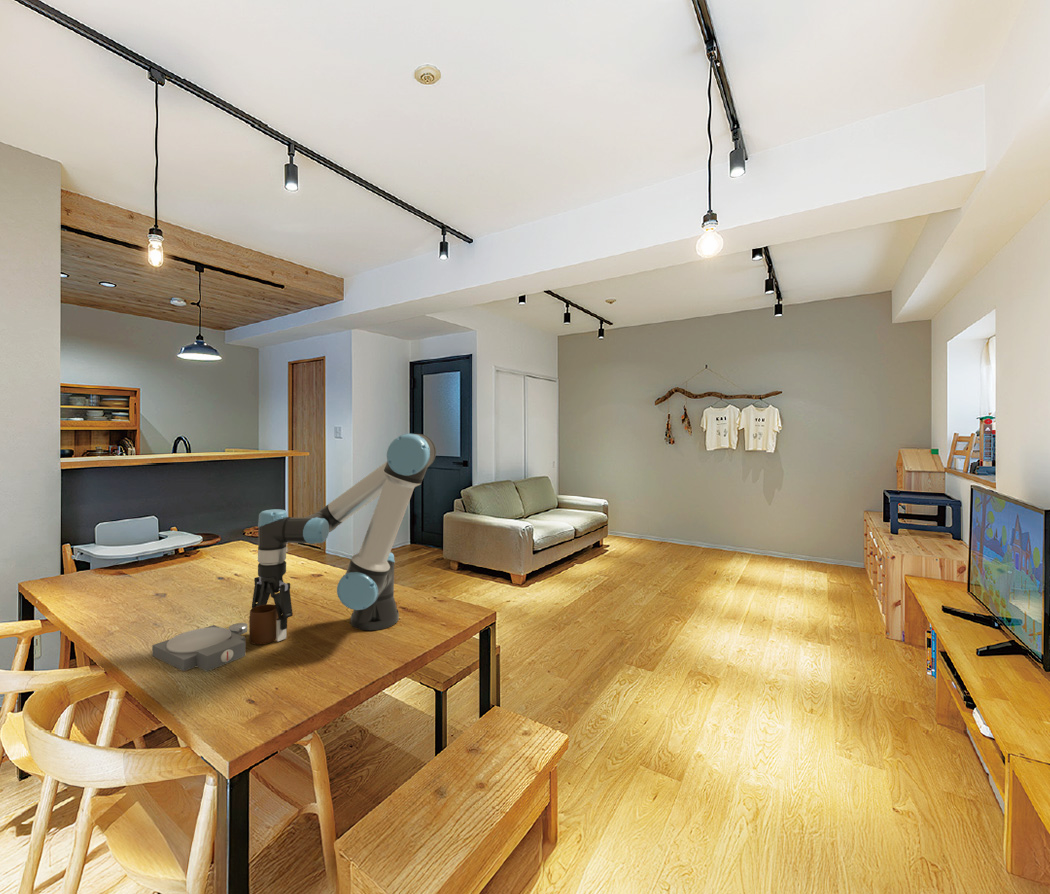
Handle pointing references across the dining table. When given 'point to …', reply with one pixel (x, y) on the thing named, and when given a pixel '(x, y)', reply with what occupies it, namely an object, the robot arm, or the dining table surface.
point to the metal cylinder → (238, 628)
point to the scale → (201, 648)
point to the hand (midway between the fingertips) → (271, 635)
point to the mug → (263, 624)
